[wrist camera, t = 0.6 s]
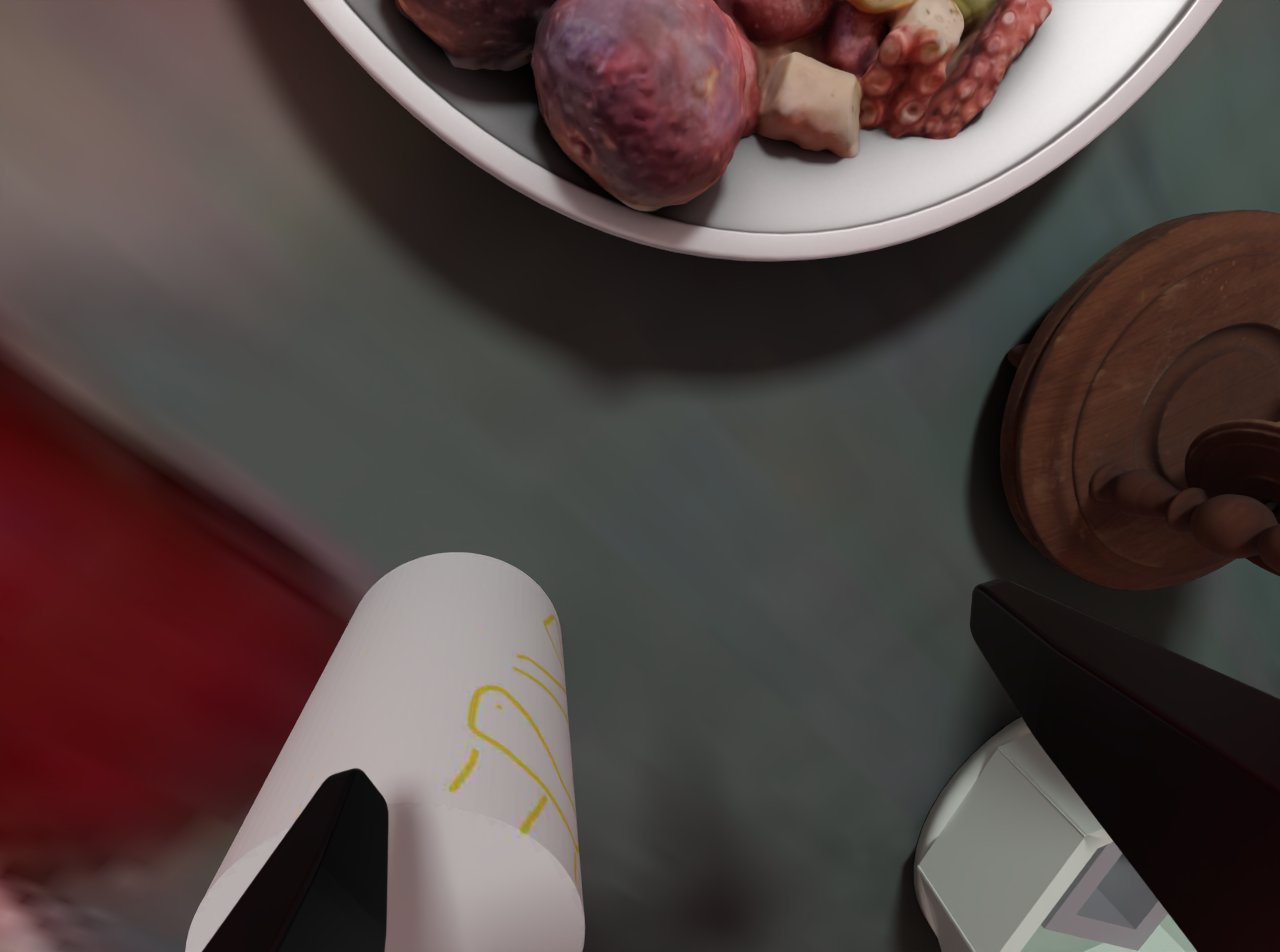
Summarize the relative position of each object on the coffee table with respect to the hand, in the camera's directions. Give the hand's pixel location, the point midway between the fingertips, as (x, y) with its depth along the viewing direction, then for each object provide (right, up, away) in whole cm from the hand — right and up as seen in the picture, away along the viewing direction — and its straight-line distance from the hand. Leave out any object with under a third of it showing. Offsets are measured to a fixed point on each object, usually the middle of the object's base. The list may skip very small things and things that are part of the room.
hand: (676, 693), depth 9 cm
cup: (-8, -4, +16) cm, 18 cm away
